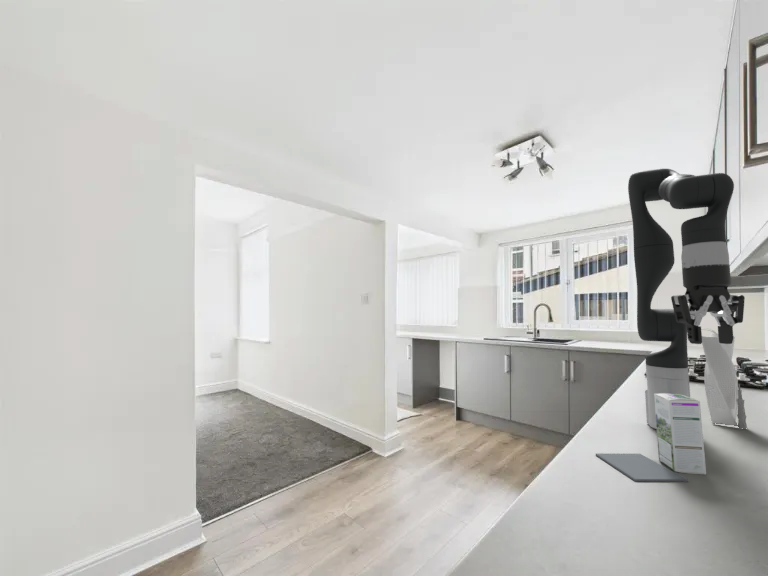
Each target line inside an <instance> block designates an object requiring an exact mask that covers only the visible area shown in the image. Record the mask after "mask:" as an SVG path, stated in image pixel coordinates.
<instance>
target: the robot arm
mask: <svg viewBox="0 0 768 576" xmlns="http://www.w3.org/2000/svg"><path fill="white" fill-rule="evenodd" d="M734 183H735V182H734V180H733V179H732V178H731V176H730V175H729V174H727V173H724V172H718V173H709V174H700V175H694V174H689V173H688V174H687V173H684V174H683V173H679V172H677V171H676V170H674V169H671V168H657V169H649V170H642V171H636V172H633V173H632V174H631V175H630V176H629V179H628V186H627V190H628V191H627V192H628V193H627V194H628V200H629V207H630V213H631V214H630V215H631V220H632V236H633V238H632V239H633V261H634V269H635V279H636V280H635V281H636V323H637V325H636V326H637V327H636V328H637V333H638V336H639V338H640V339H641V340H642V341H645V342H667V343H670V345H669V346H668V347H667V348H665V349H662V350H660V351H657V352H652V353H649V354H646V355H645V374H646V388H647V389H645V391H644V396H645V398H644V399H645V411H646V412H645V413H646V424H648V425H649V426H650V427H651V428H652V429H655V430H657V427H656V414H655V399H654V394H659V393H671V394H681V395H684V396H687V397H690V398H691V389H690V388H691V387H690V375H689V374H690V373H689V362H688V361H689V359H688V358H689V357H688V354H689V353H688V341H689V343H690V344H696V345H701V344H702V336H703V334H702V330H701V328H702V326H700V325H701V322H702V320H703V318H704V317H706V316H707V313H710V316H711V317H713V318H715V321H716V323H717V334H718V337H719V343H722V344H732V341H733V336H734V329H733V328H734V327H733V326H735V325H737V324H741V323H743V321H744V313H745V312H744V310H745V296H744V295H743V294H737V295H736V294H735V295H734V294H731V293H730V292H729V290H728V287H730V286H731V285H732V278H731V266H730V254H729V249H728V247H727V239H726V237H727V236H726V218H727V214H728V209H729V206H730V203H731V200H732V197H733V193H734V189H735V184H734ZM656 201H665V202H668V203H669V205H670V206H671V208H672V209H676V210H690V209H691V210H692V209H701V208H707V212H706V214H704V215H702V216H695V217H692V218H690V219H687V220H684V221H683V222H682V223H681V227H680V234H681V270H682V286H683V287H684V288H685V289H686V291H685V292H684V294H677V295H672V296H671V297H670V300H671V303H672V308H665V309H664V308H655V309H654V308H651V307H652V306H651V305H652V301H653V298H654V296H655V294H656V292H657V290H658V288H659V287H660V285H661V284H662V283H663V282H664V280H665V279H666V277H667V276H668V275H669V273H670V272H671V271H672V268H673V267H674V265H675V251H674V249H675V248H674V241H673V239H672V237H671V235H670V234H669V233H668V232H667V231H666V230H665V229H664V228H663V227H662V225H660V224H659V223H658V222H657V221H656V220H655V218H654V217H653V216H652V214H651V213H650V211H649V210H648V209H649V208H648V206H647V204H646V203H648V202H656Z"/></svg>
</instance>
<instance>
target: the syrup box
mask: <svg viewBox="0 0 768 576" xmlns="http://www.w3.org/2000/svg"><path fill="white" fill-rule="evenodd" d="M654 399H655V414H656V427H657V429H656V436H657V437H656V438H657V440H656V441H657V450H658V452H657V453H658V461H659V462H660V463H662V464H664V465H665V466H666V467H667V468H668V469H670V470H671V471H673V472H675V473H680V474H681V473H682V474H689V475H690V474H691V475H692V474H694V475H705V476H706V475H707V467H706V466H707V465H706V457H705V456H706V455H705V443H704V435H703V434H704V432H703V422H702V421H703V420H702V409H701V401H700V400H699V399H695V398H692V397H691V396H690V397H687V396H684V395H681V394H671V393H659V394H654Z"/></svg>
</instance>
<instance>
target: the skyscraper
mask: <svg viewBox="0 0 768 576" xmlns="http://www.w3.org/2000/svg"><path fill="white" fill-rule="evenodd" d="M701 331H708V332H709V331H710V332H711V333H709V334H710V335H708V336H707V335H702V343H701V344H702V349H703V353H704V357H705V365H704V373H703V374H704V391H705V397H706V403H707V408H708V412H709V420H710V419H711V421H712V422H711V421H710V422H711V424H712V425H713V426H715V423H716V424H725V425H734V426H738V427H739V428H743V429H746V428H747V429H748V426H747V415H746V410H745V399H743V394H742V393H743V392H742V389H741V383H738V377H737V376H738V375H737V372H736V369H735V366H734V363H733V360H732V359H733V356H734V355H733V354H734V348H735V345H734V344H735V337H736V336H735V335H733V341H732V344H722V343H719V337H718V332H716V331H715V330H713V329H711V328H706V327H701ZM736 421H737V422H736ZM737 423H738V425H737Z"/></svg>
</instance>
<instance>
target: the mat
mask: <svg viewBox="0 0 768 576" xmlns="http://www.w3.org/2000/svg"><path fill="white" fill-rule="evenodd" d="M595 456H596V457H597V458H599V459H600V460H602V461H603V462H605V463H606V464H607V465H610V466H611V467H613V468H614V469H616V470H617V471H619V472H620V473H622V474H623V475H625V476H627V478H629V479H631V480H633V481H634V482H676V483H677V482H685V483H686V482H688V481H689V480H688V478H686V477H684V476H682V475H681V474H679V473H678V472H675V471H673V470H672V469H670V468H669V467H667V466H666V467H665V466H664V465H662V464H660V463H658V462H656V461H655V460H652V459H650V458H649V457H648V456H645V455H644V454H642V453H595Z"/></svg>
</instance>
